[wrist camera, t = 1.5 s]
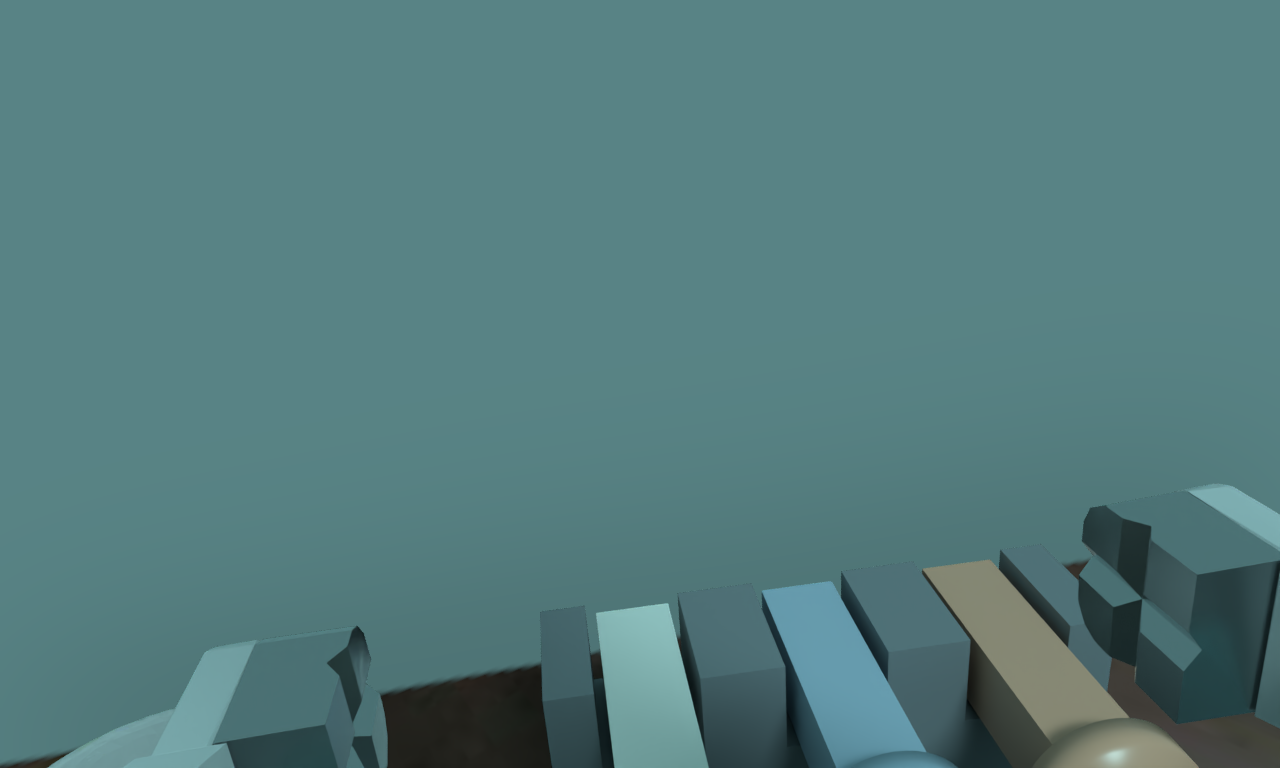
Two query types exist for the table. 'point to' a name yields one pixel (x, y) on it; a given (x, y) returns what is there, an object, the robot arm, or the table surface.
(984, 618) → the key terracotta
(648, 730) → the key white
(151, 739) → the teacup
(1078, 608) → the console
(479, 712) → the table surface
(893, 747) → the key blue
